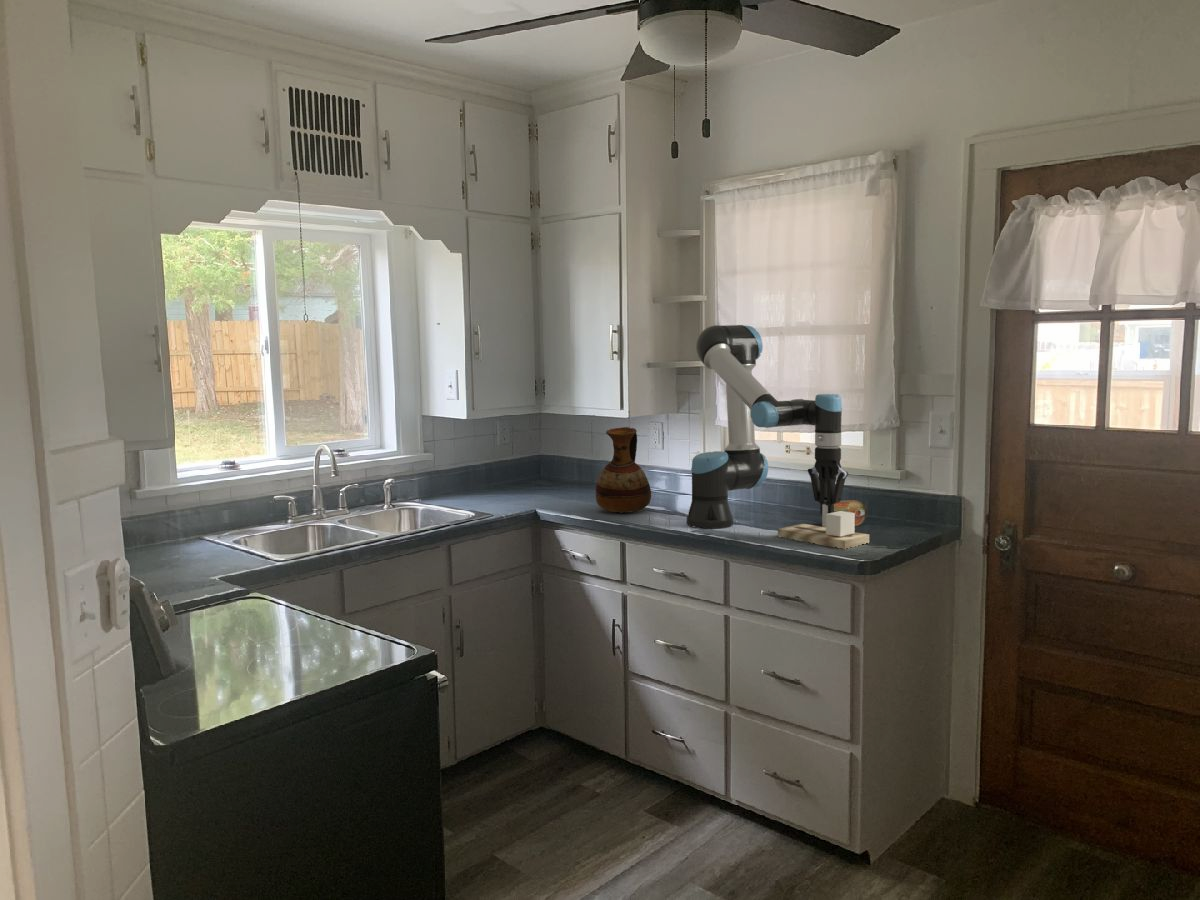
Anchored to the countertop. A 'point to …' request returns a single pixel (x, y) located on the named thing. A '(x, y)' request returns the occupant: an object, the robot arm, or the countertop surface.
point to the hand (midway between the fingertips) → (827, 525)
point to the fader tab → (840, 523)
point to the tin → (852, 509)
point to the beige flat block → (822, 536)
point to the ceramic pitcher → (623, 476)
